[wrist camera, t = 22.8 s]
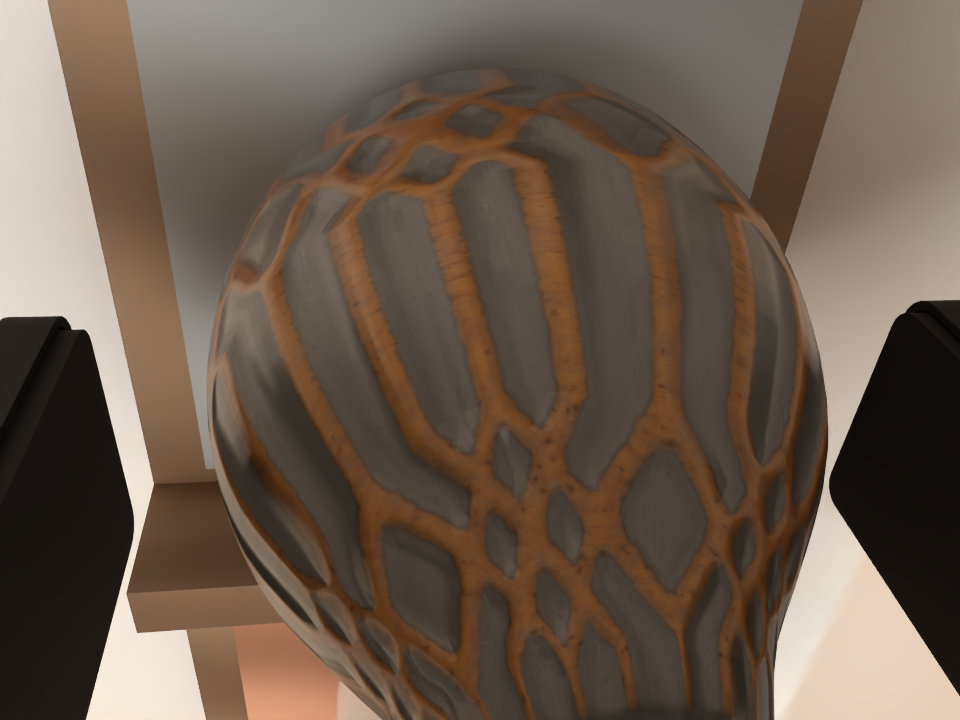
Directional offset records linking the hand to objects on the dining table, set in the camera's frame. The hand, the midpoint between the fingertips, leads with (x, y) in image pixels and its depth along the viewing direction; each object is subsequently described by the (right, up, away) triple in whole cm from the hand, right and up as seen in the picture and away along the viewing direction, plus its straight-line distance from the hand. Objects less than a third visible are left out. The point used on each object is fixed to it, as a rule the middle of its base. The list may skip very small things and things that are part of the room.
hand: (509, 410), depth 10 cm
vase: (-1, +3, +3) cm, 4 cm away
